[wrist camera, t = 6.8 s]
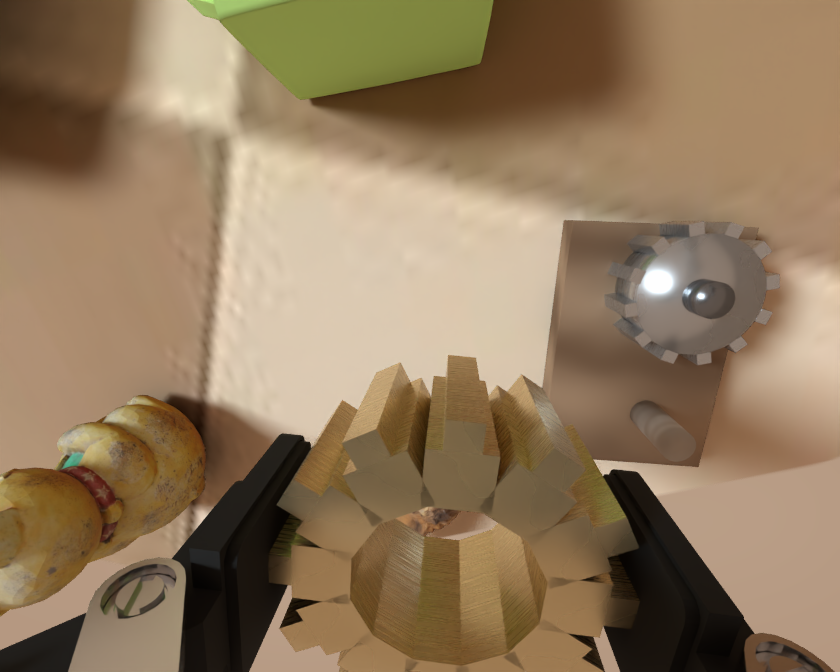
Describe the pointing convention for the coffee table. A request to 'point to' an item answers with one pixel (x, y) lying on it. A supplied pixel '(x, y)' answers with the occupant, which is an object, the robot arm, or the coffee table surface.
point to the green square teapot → (354, 39)
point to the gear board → (620, 361)
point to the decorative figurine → (95, 496)
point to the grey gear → (691, 289)
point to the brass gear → (444, 558)
